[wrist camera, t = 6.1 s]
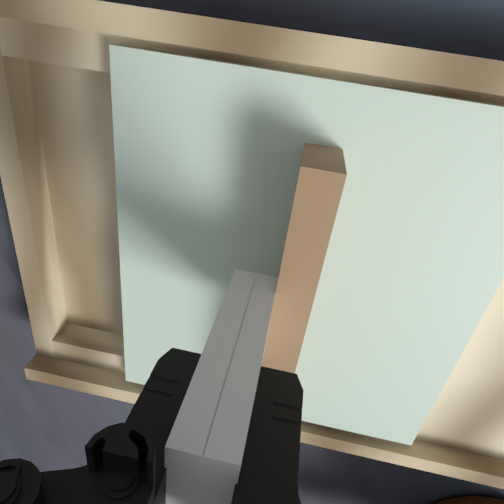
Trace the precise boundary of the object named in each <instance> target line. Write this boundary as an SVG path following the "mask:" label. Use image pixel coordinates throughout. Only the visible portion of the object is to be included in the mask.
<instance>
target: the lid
mask: <svg viewBox="0 0 504 504" xmlns="http://www.w3.org/2000/svg"><path fill="white" fill-rule="evenodd" d="M109 53H110V74H111V94H112V114H113V134H114V155H115V175H116V195H117V215H118V236H119V256H120V276H121V296H122V317H123V337H124V357H125V377H126V381H129V382H133V383H138V384H142V385H145V384H146V382H147V380H148V378H149V377H150V374H151V372H152V370H153V368H154V366H155V365H156V363H157V361H158V359H159V358H160V357H162V356H163V355H164V354H165V353H166V352H168V351H169V350H170V349H171V348H176V349H181V350H186V351H190V352H195V353H199V354H202V352H203V349H204V347H205V344H206V342H207V339H208V336H209V334H210V331H211V329H212V326H213V324H214V321H215V319H216V316H217V314H218V311H219V309H220V306H221V304H222V301H223V299H224V296H225V293H226V291H227V288H228V286H229V283H230V281H231V278H232V276H233V273H234V271H235V269H238V270H243V271H248V272H253V273H258V274H263V275H268V276H273V277H278V282H277V288H276V293H275V298H274V303H273V308H272V313H271V319H270V324H269V329H268V334H267V339H266V344H265V350H264V355H263V360H262V365H261V366H263V367H268V368H272V369H277V370H281V371H286V372H291V373H295V374H297V375H298V378H299V381H300V383H301V386H302V388H303V405H302V421H305V422H309V423H314V424H318V425H323V426H327V427H331V428H336V429H340V430H345V431H349V432H353V433H358V434H362V435H367V436H371V437H375V438H380V439H384V440H389V441H393V442H397V443H402V444H406V445H412V443H413V441H414V440H415V438H416V436H417V434H418V432H419V431H420V429H421V427H422V425H423V423H424V422H425V420H426V418H427V416H428V414H429V412H430V411H431V409H432V407H433V405H434V403H435V402H436V400H437V398H438V396H439V394H440V392H441V391H442V389H443V387H444V385H445V383H446V382H447V380H448V378H449V376H450V374H451V372H452V371H453V369H454V367H455V365H456V363H457V362H458V360H459V358H460V356H461V354H462V353H463V351H464V349H465V347H466V345H467V343H468V342H469V340H470V338H471V336H472V334H473V333H474V331H475V329H476V327H477V325H478V323H479V322H480V320H481V318H482V316H483V314H484V313H485V311H486V309H487V307H488V305H489V303H490V302H491V300H492V298H493V296H494V294H495V293H496V291H497V289H498V287H499V285H500V284H501V282H502V280H503V278H504V105H499V104H493V103H487V102H480V101H474V100H468V99H461V98H455V97H449V96H442V95H436V94H430V93H424V92H417V91H411V90H405V89H398V88H392V87H386V86H379V85H373V84H367V83H360V82H354V81H348V80H341V79H335V78H329V77H322V76H316V75H310V74H303V73H297V72H291V71H284V70H278V69H272V68H265V67H259V66H253V65H246V64H240V63H234V62H227V61H221V60H215V59H209V58H202V57H196V56H190V55H183V54H177V53H171V52H164V51H158V50H152V49H145V48H139V47H133V46H126V45H120V44H109Z"/></svg>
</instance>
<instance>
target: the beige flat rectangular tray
mask: <svg viewBox="0 0 504 504" xmlns="http://www.w3.org/2000/svg"><path fill="white" fill-rule="evenodd" d="M109 44H120V45H126V46H133V47H139V48H145V49H152V50H158V51H164V52H171V53H177V54H183V55H190V56H196V57H202V58H209V59H215V60H221V61H227V62H234V63H240V64H246V65H253V66H259V67H265V68H272V69H278V70H284V71H291V72H297V73H303V74H310V75H316V76H322V77H329V78H335V79H341V80H348V81H354V82H360V83H367V84H373V85H379V86H386V87H392V88H398V89H405V90H411V91H417V92H424V93H430V94H436V95H442V96H449V97H455V98H461V99H468V100H474V101H480V102H487V103H493V104H499V105H504V61H500V60H493V59H486V58H480V57H473V56H466V55H460V54H453V53H446V52H440V51H433V50H426V49H420V48H413V47H406V46H399V45H393V44H386V43H379V42H373V41H366V40H359V39H353V38H346V37H339V36H333V35H326V34H319V33H313V32H306V31H299V30H293V29H286V28H279V27H273V26H266V25H259V24H253V23H246V22H239V21H232V20H226V19H219V18H212V17H206V16H199V15H192V14H186V13H179V12H172V11H166V10H159V9H152V8H146V7H139V6H132V5H126V4H119V3H112V2H106V1H99V0H0V176H1V181H2V186H3V191H4V196H5V201H6V206H7V211H8V215H9V220H10V225H11V230H12V235H13V240H14V245H15V250H16V254H17V259H18V264H19V269H20V274H21V279H22V284H23V289H24V293H25V298H26V303H27V308H28V313H29V318H30V323H31V328H32V333H33V337H34V342H35V347H36V352H37V354H36V355H35V356H34V357H33V358H32V360H31V361H30V362H29V363H28V364H27V365H26V366H25V367H24V370H25V374H26V378H27V379H29V380H34V381H38V382H42V383H47V384H51V385H55V386H60V387H64V388H68V389H73V390H77V391H81V392H86V393H90V394H94V395H99V396H103V397H107V398H112V399H116V400H120V401H124V402H129V403H133V404H135V403H136V401H137V399H138V397H139V395H140V393H141V391H143V388H144V386H145V385H142V384H138V383H133V382H129V381H126V377H125V357H124V337H123V317H122V296H121V276H120V256H119V236H118V215H117V195H116V175H115V155H114V134H113V114H112V94H111V74H110V53H109ZM300 442H302V443H306V444H310V445H314V446H319V447H323V448H327V449H332V450H336V451H340V452H345V453H349V454H353V455H358V456H362V457H366V458H371V459H375V460H379V461H384V462H388V463H392V464H397V465H401V466H405V467H410V468H414V469H418V470H422V471H427V472H431V473H435V474H440V475H444V476H448V477H453V478H457V479H461V480H466V481H470V482H474V483H479V484H483V485H487V486H492V487H496V488H500V489H504V278H503V280H502V282H501V284H500V285H499V287H498V289H497V291H496V293H495V294H494V296H493V298H492V300H491V302H490V303H489V305H488V307H487V309H486V311H485V313H484V314H483V316H482V318H481V320H480V322H479V323H478V325H477V327H476V329H475V331H474V333H473V334H472V336H471V338H470V340H469V342H468V343H467V345H466V347H465V349H464V351H463V353H462V354H461V356H460V358H459V360H458V362H457V363H456V365H455V367H454V369H453V371H452V372H451V374H450V376H449V378H448V380H447V382H446V383H445V385H444V387H443V389H442V391H441V392H440V394H439V396H438V398H437V400H436V402H435V403H434V405H433V407H432V409H431V411H430V412H429V414H428V416H427V418H426V420H425V422H424V423H423V425H422V427H421V429H420V431H419V432H418V434H417V436H416V438H415V440H414V441H413V443H412V445H406V444H402V443H397V442H393V441H389V440H384V439H380V438H375V437H371V436H367V435H362V434H358V433H353V432H349V431H345V430H340V429H336V428H331V427H327V426H323V425H318V424H314V423H309V422H305V421H301V436H300Z"/></svg>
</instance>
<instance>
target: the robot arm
mask: <svg viewBox="0 0 504 504" xmlns="http://www.w3.org/2000/svg"><path fill="white" fill-rule="evenodd" d="M277 282H278V277H273V276H268V275H263V274H258V273H253V272H248V271H243V270H238V269H235V271H234V273H233V276H232V278H231V281H230V283H229V286H228V288H227V291H226V293H225V296H224V299H223V301H222V304H221V306H220V309H219V311H218V314H217V316H216V319H215V321H214V324H213V326H212V329H211V331H210V334H209V336H208V339H207V342H206V344H205V347H204V349H203V352H202V354H199V353H195V352H190V351H186V350H181V349H176V348H171V349H170V350H169V351H168V352H166V353H165V354H164V355H163V356H162V357H160V358H159V359H158V361H157V363H156V365H155V366H154V368H153V370H152V372H151V374H150V377H149V378H148V380H147V382H146V384H145V386H144V388H143V391H141V393H140V395H139V397H138V399H137V401H136V403H135V405H134V407H133V409H132V410H131V412H130V414H129V416H128V418H127V420H126V422H125V423H119V424H115V425H112V426H108V427H106V428H104V429H103V430H101V431H100V432H98V433H97V434H95V435H94V436H93V437H92V438H91V440H90V441H89V442H88V443H87V444H86V446H85V451H86V458H87V464H88V465H85V466H83V467H79V468H74V469H67V470H56V471H46V472H39V470H38V469H37V467H36V466H35V465H34V464H33V463H32V462H30V461H27V460H23V459H20V458H18V459H8V460H3V461H1V462H0V504H301V502H300V499H299V495H298V485H297V482H298V467H299V451H300V436H301V421H302V405H303V388H302V386H301V383H300V381H299V378H298V375H297V374H295V373H291V372H286V371H281V370H277V369H272V368H268V367H263V366H261V365H262V360H263V355H264V350H265V344H266V339H267V334H268V329H269V324H270V319H271V313H272V308H273V303H274V298H275V293H276V288H277Z"/></svg>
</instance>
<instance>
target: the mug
mask: <svg viewBox="0 0 504 504" xmlns="http://www.w3.org/2000/svg"><path fill="white" fill-rule="evenodd" d="M435 504H504V500H502V499H498V498H493V497H486V496H461V497H454V498H450V499H446V500H443V501H440V502H438V503H435Z"/></svg>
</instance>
